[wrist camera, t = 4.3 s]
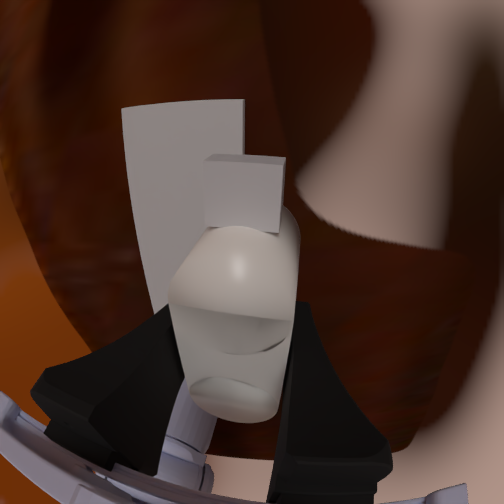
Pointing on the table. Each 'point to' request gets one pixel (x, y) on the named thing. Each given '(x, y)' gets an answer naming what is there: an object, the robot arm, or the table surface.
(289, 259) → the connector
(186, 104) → the grey mat
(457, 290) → the table surface
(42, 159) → the table surface
